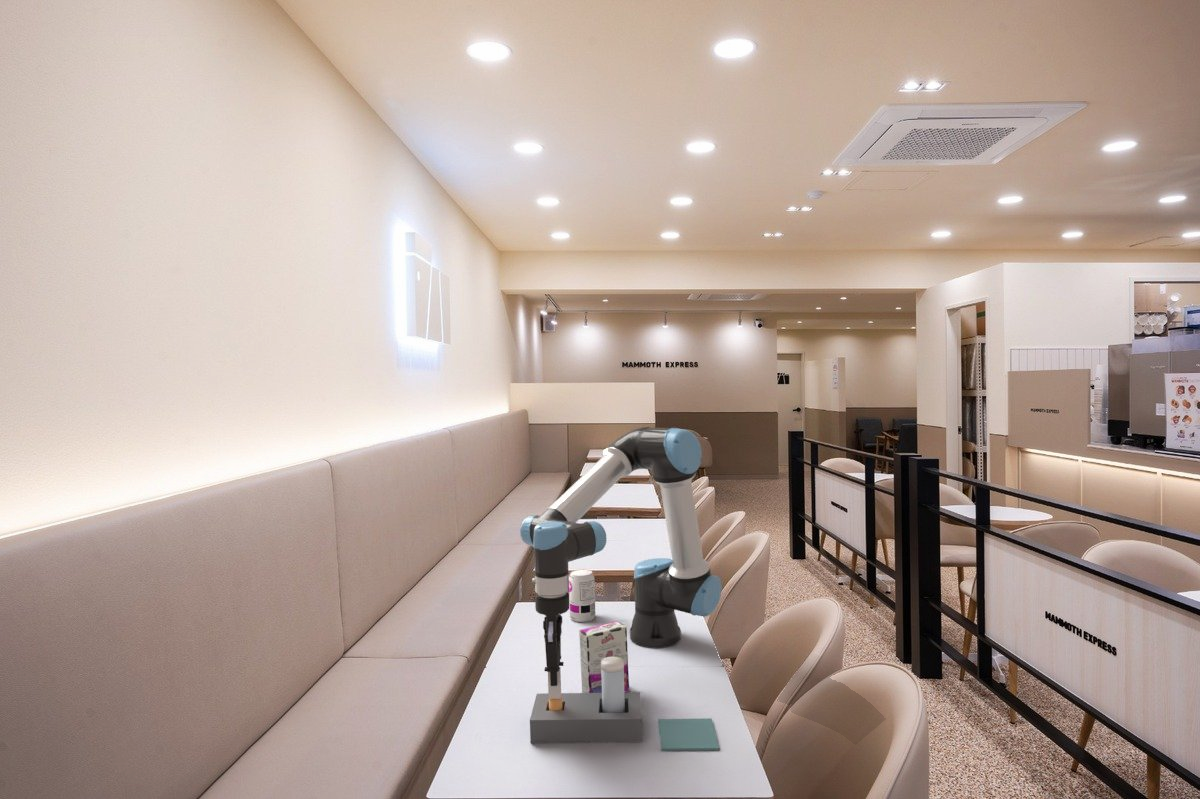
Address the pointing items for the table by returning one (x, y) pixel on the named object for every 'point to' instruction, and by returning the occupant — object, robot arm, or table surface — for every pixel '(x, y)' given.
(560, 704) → the plunger
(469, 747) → the table surface
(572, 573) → the supplement can
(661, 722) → the mat
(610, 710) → the cylinder
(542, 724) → the housing
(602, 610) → the table surface
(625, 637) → the candy bar box
